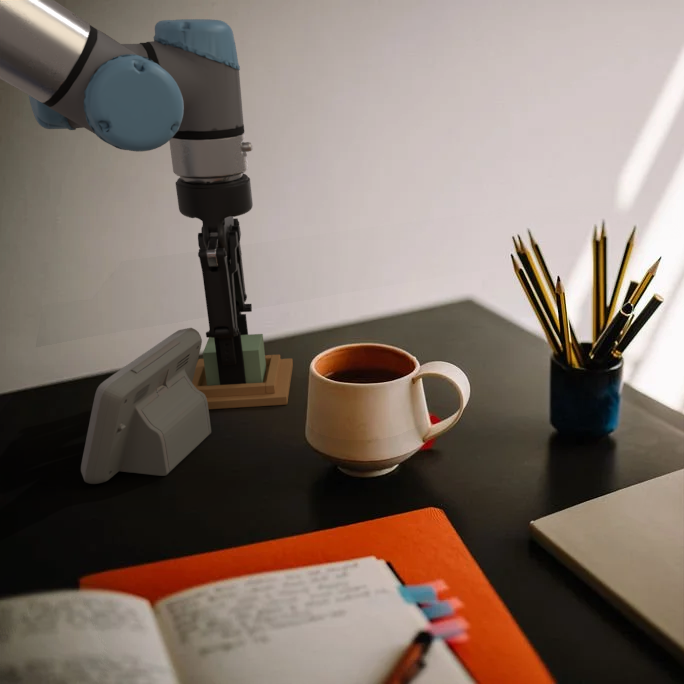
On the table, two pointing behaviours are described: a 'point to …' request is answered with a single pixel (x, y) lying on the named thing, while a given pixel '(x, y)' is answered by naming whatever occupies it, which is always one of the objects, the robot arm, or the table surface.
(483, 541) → the table surface
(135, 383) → the digital clock
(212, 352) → the green block
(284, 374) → the socket pad
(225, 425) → the table surface
